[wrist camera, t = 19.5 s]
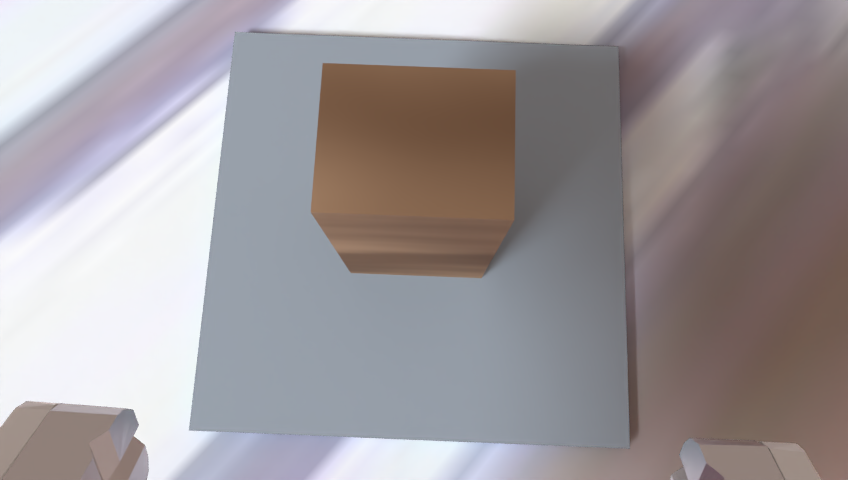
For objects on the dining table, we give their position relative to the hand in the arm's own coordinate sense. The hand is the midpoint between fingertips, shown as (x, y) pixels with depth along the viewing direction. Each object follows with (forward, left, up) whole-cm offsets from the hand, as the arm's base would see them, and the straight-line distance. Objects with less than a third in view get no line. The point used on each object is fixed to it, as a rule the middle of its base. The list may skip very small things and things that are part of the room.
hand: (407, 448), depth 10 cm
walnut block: (0, -7, -14) cm, 16 cm away
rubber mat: (0, -7, -15) cm, 16 cm away
